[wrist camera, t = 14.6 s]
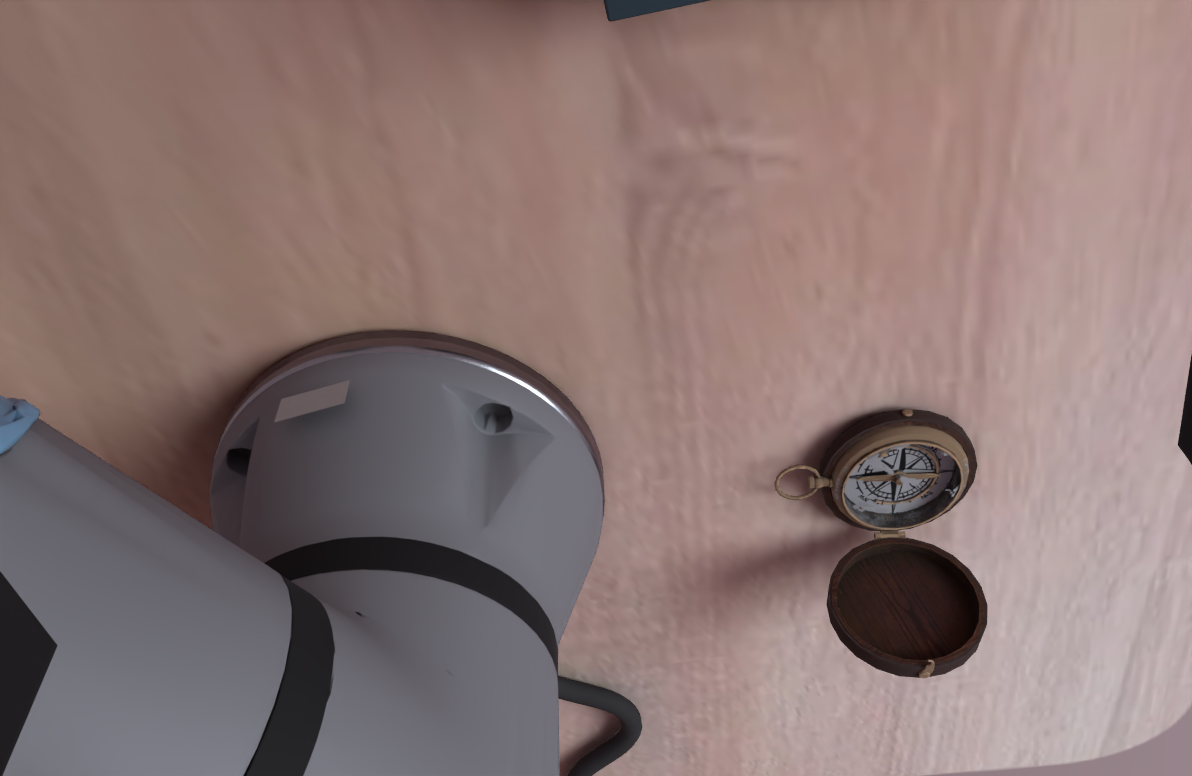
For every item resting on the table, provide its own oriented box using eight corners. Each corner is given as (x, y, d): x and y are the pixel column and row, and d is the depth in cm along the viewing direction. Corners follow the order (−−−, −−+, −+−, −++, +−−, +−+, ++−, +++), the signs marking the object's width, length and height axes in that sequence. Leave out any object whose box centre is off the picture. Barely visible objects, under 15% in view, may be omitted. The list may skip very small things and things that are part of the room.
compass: (982, 397, 43) (1046, 534, 37) (951, 540, 48) (1003, 680, 42) (775, 407, 43) (808, 546, 38) (765, 549, 48) (792, 690, 42)
